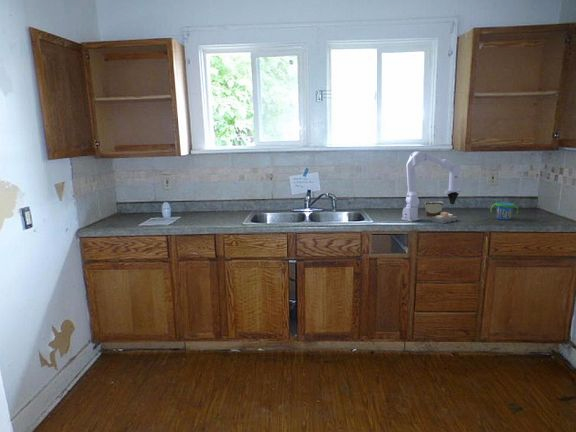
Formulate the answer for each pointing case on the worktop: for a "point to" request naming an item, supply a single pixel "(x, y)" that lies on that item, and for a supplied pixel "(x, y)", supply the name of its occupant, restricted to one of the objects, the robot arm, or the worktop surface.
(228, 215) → the worktop surface
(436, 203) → the half round cake
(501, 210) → the snack cup
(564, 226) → the worktop surface
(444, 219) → the key console
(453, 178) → the robot arm
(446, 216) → the key terracotta
